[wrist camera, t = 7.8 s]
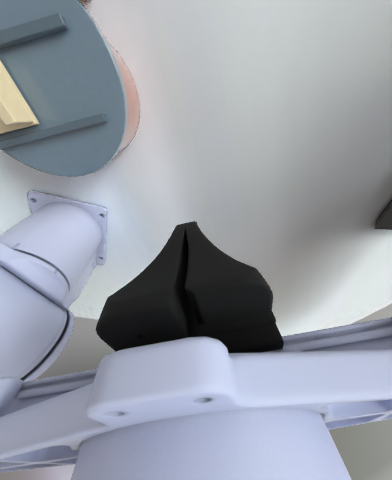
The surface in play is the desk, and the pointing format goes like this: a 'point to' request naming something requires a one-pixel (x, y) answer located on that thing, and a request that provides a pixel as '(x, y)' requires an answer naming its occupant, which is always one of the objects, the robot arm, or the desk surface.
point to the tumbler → (66, 87)
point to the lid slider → (13, 106)
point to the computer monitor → (385, 219)
